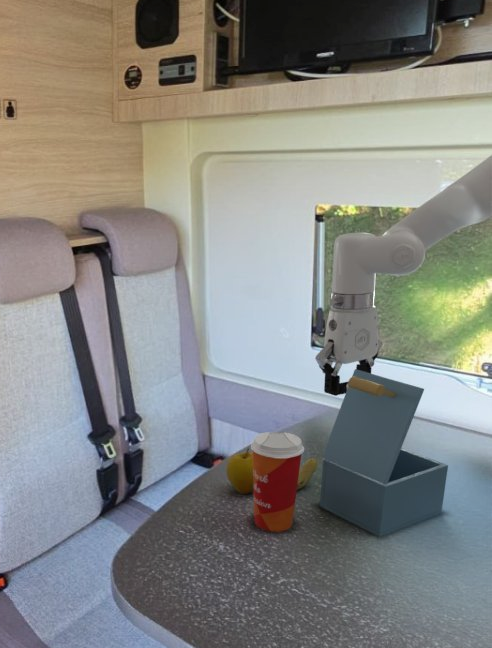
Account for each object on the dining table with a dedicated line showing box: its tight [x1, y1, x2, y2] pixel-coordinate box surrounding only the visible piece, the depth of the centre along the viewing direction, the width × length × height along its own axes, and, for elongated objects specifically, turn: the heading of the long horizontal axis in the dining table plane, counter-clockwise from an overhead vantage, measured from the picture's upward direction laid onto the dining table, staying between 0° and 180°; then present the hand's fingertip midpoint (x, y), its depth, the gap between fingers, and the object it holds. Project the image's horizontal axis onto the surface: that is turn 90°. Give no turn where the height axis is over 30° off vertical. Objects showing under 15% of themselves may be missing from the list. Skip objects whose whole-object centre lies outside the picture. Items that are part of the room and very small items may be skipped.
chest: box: [319, 447, 449, 538], centre depth 120 cm, size 15×13×9 cm
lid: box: [321, 368, 425, 484], centre depth 113 cm, size 16×13×6 cm
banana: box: [297, 457, 318, 491], centre depth 131 cm, size 10×2×4 cm, turn 136°
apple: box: [226, 447, 254, 495], centre depth 130 cm, size 6×6×8 cm
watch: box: [338, 380, 349, 396], centre depth 141 cm, size 8×5×4 cm, turn 117°
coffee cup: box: [250, 431, 305, 533], centre depth 117 cm, size 8×8×15 cm
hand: (347, 389), depth 141 cm, fingers closed on watch, 7 cm apart
